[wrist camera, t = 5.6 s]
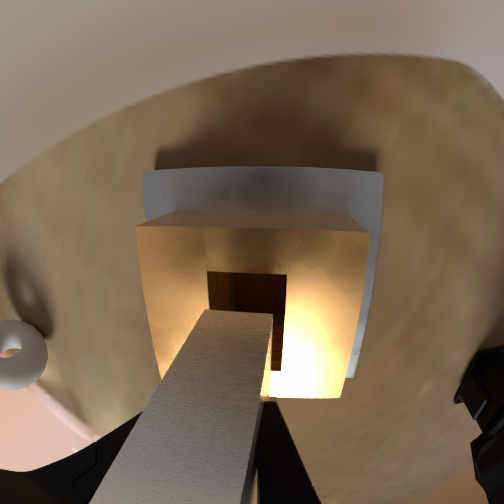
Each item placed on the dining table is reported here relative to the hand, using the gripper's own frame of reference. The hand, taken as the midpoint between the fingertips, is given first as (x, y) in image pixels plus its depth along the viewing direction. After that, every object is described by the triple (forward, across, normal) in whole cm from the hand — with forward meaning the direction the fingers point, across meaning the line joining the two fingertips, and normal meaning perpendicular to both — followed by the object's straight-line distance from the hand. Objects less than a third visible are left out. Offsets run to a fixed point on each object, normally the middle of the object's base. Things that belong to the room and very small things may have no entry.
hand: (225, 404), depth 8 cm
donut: (+11, +26, +9) cm, 30 cm away
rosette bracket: (+11, 0, 0) cm, 11 cm away
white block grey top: (+2, 0, 0) cm, 3 cm away
